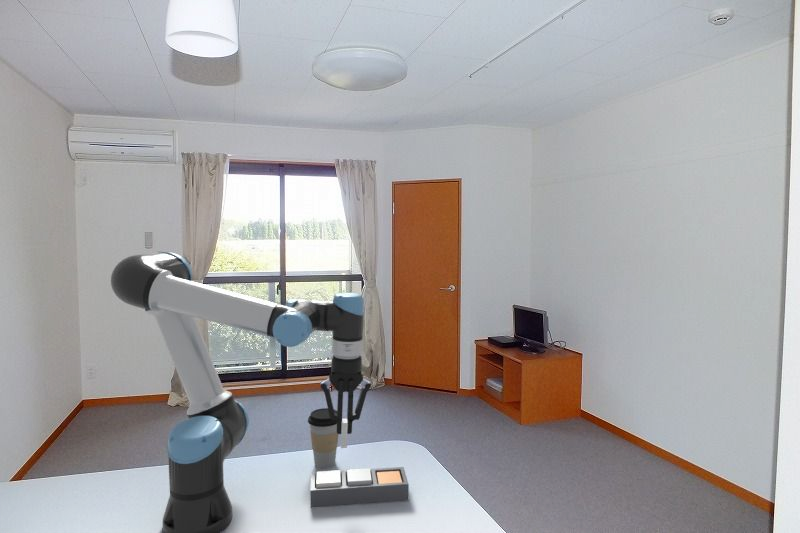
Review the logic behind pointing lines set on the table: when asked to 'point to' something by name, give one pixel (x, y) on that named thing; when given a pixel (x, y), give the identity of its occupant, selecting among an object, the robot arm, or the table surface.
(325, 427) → the coffee cup
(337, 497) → the keypad
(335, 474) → the key cream
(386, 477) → the key orange
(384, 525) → the table surface
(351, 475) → the key grey
